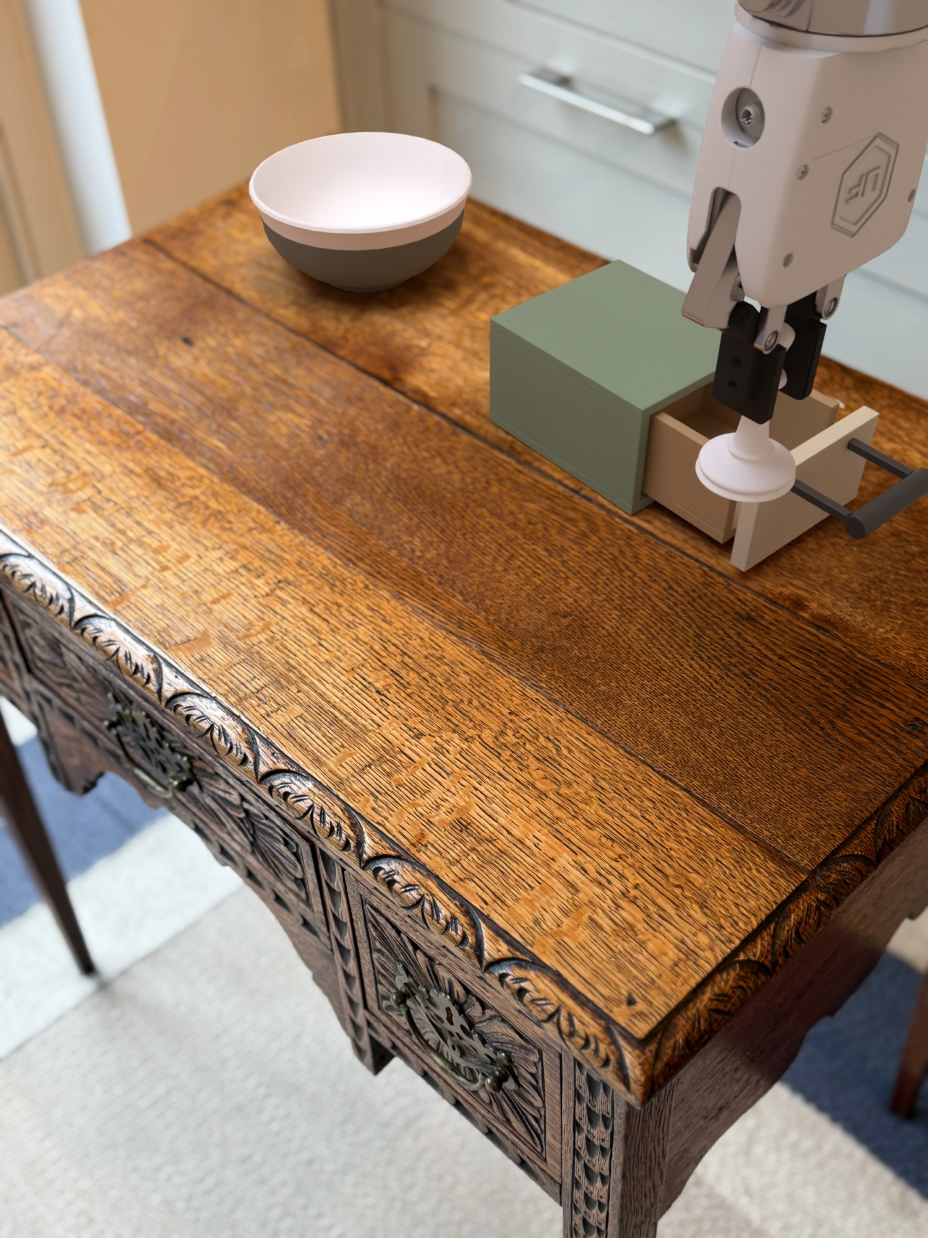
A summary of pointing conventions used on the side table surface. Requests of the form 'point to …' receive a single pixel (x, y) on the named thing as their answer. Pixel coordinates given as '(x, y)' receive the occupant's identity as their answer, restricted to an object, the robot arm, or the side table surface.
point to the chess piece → (749, 458)
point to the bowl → (362, 206)
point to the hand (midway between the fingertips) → (761, 395)
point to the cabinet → (597, 373)
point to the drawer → (821, 476)
